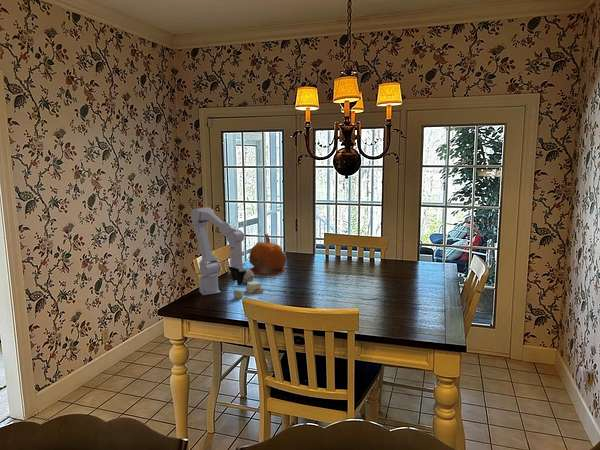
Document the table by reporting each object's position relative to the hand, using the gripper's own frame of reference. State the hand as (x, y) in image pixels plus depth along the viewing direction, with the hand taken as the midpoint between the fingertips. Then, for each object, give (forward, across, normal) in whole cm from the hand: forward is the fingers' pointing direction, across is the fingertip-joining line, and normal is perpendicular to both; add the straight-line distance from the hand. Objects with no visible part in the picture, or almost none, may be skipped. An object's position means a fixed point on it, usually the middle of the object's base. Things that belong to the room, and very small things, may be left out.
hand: (237, 282), depth 218 cm
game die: (+8, +23, -13) cm, 28 cm away
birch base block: (+9, +7, -11) cm, 16 cm away
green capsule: (+8, 0, 0) cm, 8 cm away
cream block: (+6, +7, -11) cm, 14 cm away
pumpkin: (+8, +43, -33) cm, 55 cm away
